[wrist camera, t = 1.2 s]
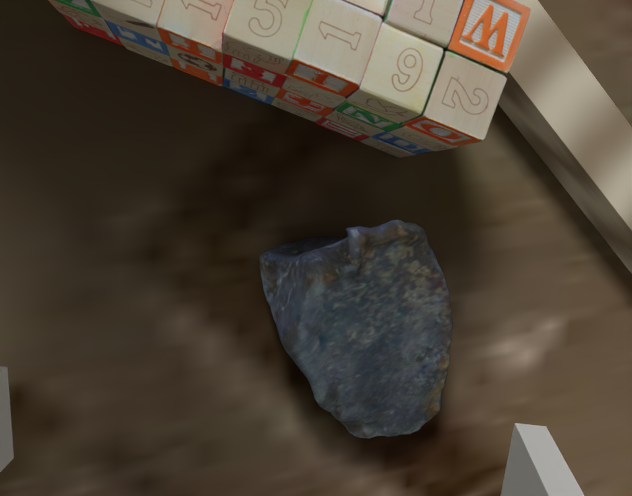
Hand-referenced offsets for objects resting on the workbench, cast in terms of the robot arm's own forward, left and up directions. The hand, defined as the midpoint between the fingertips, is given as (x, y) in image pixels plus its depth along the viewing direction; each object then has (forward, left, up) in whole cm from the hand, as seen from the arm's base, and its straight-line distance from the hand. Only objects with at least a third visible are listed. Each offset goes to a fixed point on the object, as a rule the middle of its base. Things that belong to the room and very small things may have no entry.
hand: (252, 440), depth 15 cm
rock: (+6, +5, -22) cm, 23 cm away
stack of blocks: (-10, +12, -22) cm, 27 cm away
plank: (+8, +23, -22) cm, 33 cm away
